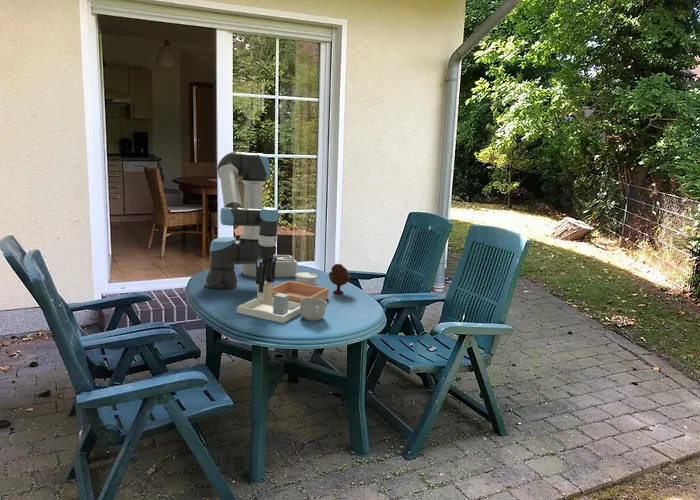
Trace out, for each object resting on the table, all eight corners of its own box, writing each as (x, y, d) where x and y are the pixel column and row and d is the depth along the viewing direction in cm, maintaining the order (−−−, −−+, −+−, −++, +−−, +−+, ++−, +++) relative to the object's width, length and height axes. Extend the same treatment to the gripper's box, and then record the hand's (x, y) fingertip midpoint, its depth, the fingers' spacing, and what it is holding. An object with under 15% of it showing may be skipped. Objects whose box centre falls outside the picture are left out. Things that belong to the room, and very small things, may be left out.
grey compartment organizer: (296, 277, 291) (297, 261, 290) (244, 277, 282) (244, 261, 280) (289, 270, 307) (290, 255, 305) (239, 270, 297) (240, 254, 295)
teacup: (299, 313, 231) (300, 296, 229) (324, 315, 232) (326, 297, 230) (299, 324, 217) (300, 305, 216) (326, 326, 218) (327, 307, 217)
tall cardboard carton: (256, 301, 230) (257, 283, 229) (261, 298, 234) (262, 280, 232) (266, 303, 229) (267, 285, 227) (271, 300, 232) (272, 283, 231)
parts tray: (236, 313, 225) (237, 306, 224) (262, 301, 243) (262, 295, 243) (283, 323, 217) (283, 316, 216) (305, 311, 235) (306, 304, 235)
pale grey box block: (272, 313, 228) (274, 295, 226) (277, 311, 231) (278, 293, 230) (282, 315, 226) (284, 297, 224) (287, 313, 230) (288, 295, 228)
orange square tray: (264, 301, 245) (265, 290, 244) (287, 290, 264) (288, 280, 263) (307, 310, 237) (307, 299, 236) (327, 298, 257) (328, 288, 256)
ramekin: (321, 285, 278) (321, 276, 277) (305, 288, 270) (305, 278, 269) (306, 280, 286) (307, 271, 285) (290, 283, 278) (291, 273, 277)
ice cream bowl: (346, 297, 261) (349, 267, 258) (324, 294, 263) (326, 264, 260) (351, 292, 271) (353, 263, 268) (329, 289, 273) (332, 260, 270)
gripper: (264, 249, 217) (261, 304, 222) (285, 243, 232) (282, 294, 237) (248, 246, 220) (245, 301, 225) (270, 240, 235) (267, 291, 240)
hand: (264, 297), depth 231 cm, fingers closed on tall cardboard carton, 4 cm apart
